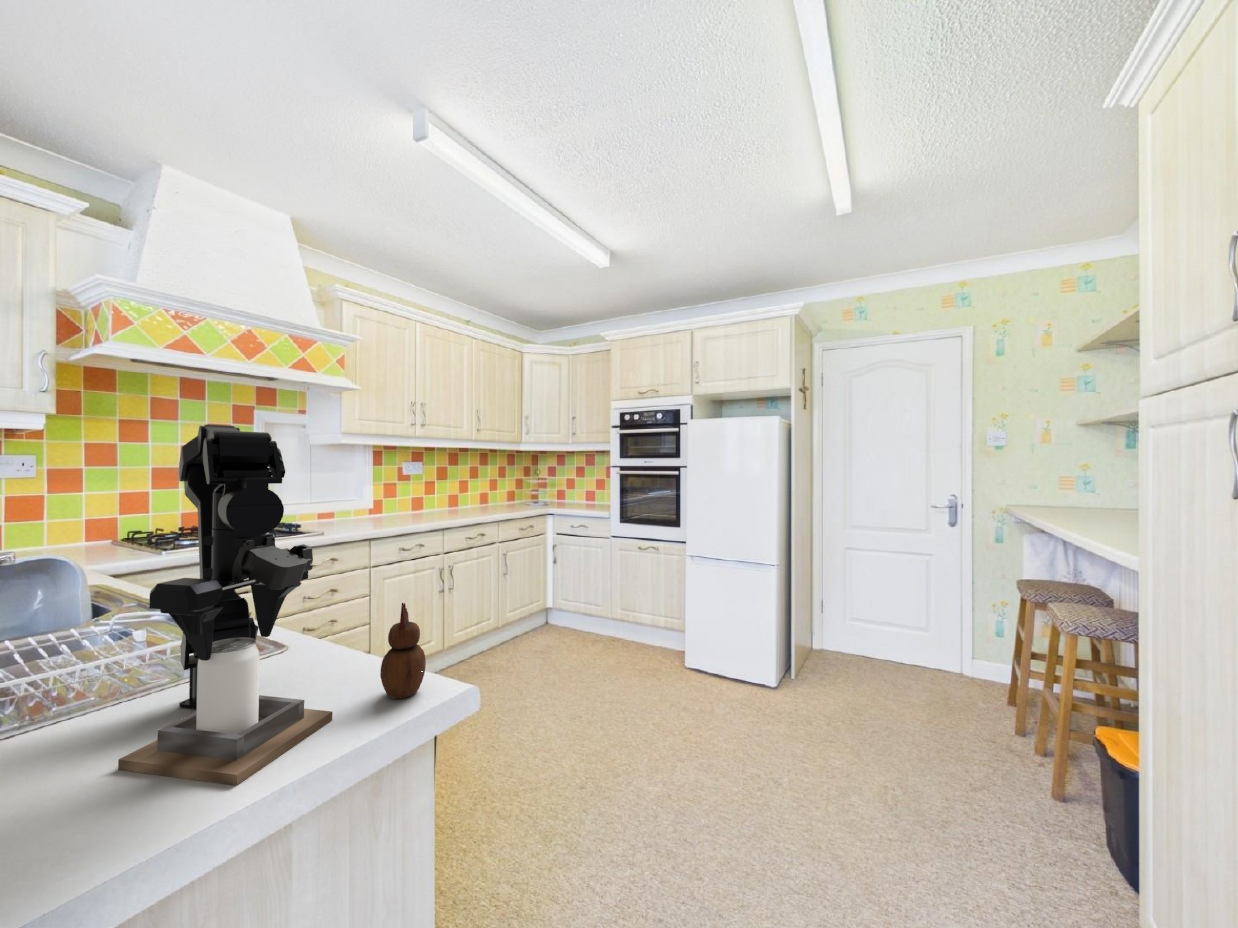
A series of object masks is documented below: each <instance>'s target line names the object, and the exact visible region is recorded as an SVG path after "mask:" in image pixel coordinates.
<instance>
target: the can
mask: <svg viewBox="0 0 1238 928" xmlns="http://www.w3.org/2000/svg"><path fill="white" fill-rule="evenodd" d="M256 643H257V639H256V640H255V639H253V638H244V637H241V638H229V639H223V640H219V641H215V642H213V643H212V652H211V657H210V659H209V660H207V661H204V660H200V659H199V660H198V668H197V708H196V711H197V713H196V730H202V731H210V732H219V733H228V734H236V735H237V734H239V733H240V732H242V731H244V730H246V729H247V728H249V727H251V726H252V725H254V724H256V723H258V711H259V695H260V650H259V649H258V647H257V644H256Z"/></svg>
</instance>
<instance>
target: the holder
mask: <svg viewBox="0 0 1238 928" xmlns="http://www.w3.org/2000/svg"><path fill="white" fill-rule="evenodd" d="M196 713H197V710H195V711H194V712H191V713H190V714H188V715H187V716H185V717H181V718H180V719H178V720H176V721H173V722H172V723H169V724H168V725H166V726H164V727H161V728H159V729H157V739H156V740H154V741H152V742H150V743H148V744H146V745H144V746H142V747H140V748H138V749H136V750H135V751H134V750H133V751H132V752H130V753H128V754H126V755H124V756H123V757H120V758H118V761H117V765H118V766H117V770H118V771H124V772H125V771H127V772H135V773H141V774H142V773H143V774H149V775H157V776H163V777H164V776H165V777H172V778H178V779H187V780H195V781H202V782H209V783H216V784H217V783H218V784H224V785H232V786H239V785H240V784H241V783H242V782H244V781H245V780H247V779H248V778H250V777H251V776H253V775H255V774H256V773H257V772H258V771H260V770H262V769H263V768H264V767H266V766H268V765H269V764H270V763H272V762H273V761H274V760H277V758H279V757H280V756H282V755H284V754H285V753H286V752H288V751H289V750H291V749H292V748H293V747H295V746H296V745H298V744H300V743H301V742H302V741H304V740H305V739H307V738H309V737H310V736H311V735H312V734H314V733H315V732H317V731H318V730H319V729H322V728H323V727H324V726H326V725H327V724H329V723H330V722H331V721H333V711H331V710H321V709H313V708H311V709H310V708H305V699H299V698H289V697H279V696H269V695H260V694H259V711H258V723H256V724H254V725H252V726H251V727H249V728H247V729H246V730H244V731H242V732H240V733H239V734H237V735H236V734H228V733H219V732H210V731H202V730H196Z"/></svg>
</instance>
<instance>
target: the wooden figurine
mask: <svg viewBox="0 0 1238 928" xmlns="http://www.w3.org/2000/svg"><path fill="white" fill-rule="evenodd" d="M400 609H401V610H400V618H399V620H400V621H399V622H397V623H395V624H393V625H392V626H391V627H390V629H389V632H388V636H387V639H388V640H387V641H388V644H389V646H390V649H389V650H388V651H387V652H386V654H385V655H384V656H383V659H382V661H381V663H380V664H381V665H380V674H379V676H380V680H381V683H382V687H383V690H384V691H385V693H386V695H387V696H388V697H390V698H392V699H397V700H398V699H405V698H408V697H411V696H412V695H414V694H416V693H417V692H418V691H419V690H420V687H421V684H422V683H423V680H424V677H425V673H426V672H425V671H426V663H427V662H426V655H425V651H424V649H423V648H422V646H421V645H420V644H418V643H419V642H420V637H421V630H420V627H419V625H418V624H417V623H416V622H413V621H410V620H409V618H410V617H409V611H408V608H407V606H406V603H405V602H401V608H400ZM421 671H423V672H421Z"/></svg>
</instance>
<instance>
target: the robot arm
mask: <svg viewBox="0 0 1238 928" xmlns="http://www.w3.org/2000/svg"><path fill="white" fill-rule="evenodd" d="M198 427H199V428H198V431H197V436H195V437H194V438H192V439H191V440H190V441H188V442H186V443H185V444H184V445H183V446H181V450H180V451H181V452H180V457H179V461H178V462H179V463H178V480H179V482H183V484H184V487H183V488H184V496H185V497H186V498H187V499H188V500H189V501H190V502H191V504H193V505H194V507H195V508H196V509H197V529H198V530H197V531H198V556H199V578H197V577H196V578H194V577H182V578H178V579H173V580H168V581H163V582H159V583H156V585H154V587H152V589H151V590H149V591H150V592H149V607H148V608H149V609H151V610H159V611H160V612H159V613H161V614H167V615H169V616H170V617H171V619H172V620H173V621H174V623H175V624H176V625H177V626H178V628H179V629H180V630H181V632H182V635H181V636H182V637H181V643H180V664H181V666H182V669H183V670H184V671H188V670H189V689H188V690H189V693H188V695H189V696H188V697H189V698H186V699H185V700H182V701H180V702H179V705H178V706H179V707H181V708H189V709H190V708H191V709H197V668H198V660H199V659H200V660H204V661H207V660H209V659H210V657H211V652H212V643H213V642H215V641H219V640H223V639H229V638H241V637H244V638H253V639H255V640H256V641H257V636H258V634H259V635H260V637H263V638H268V637H270V636H271V635H272V631H273V628H274V626H275V624H276V621H277V620H278V619H277V618H278V616H279V614H280V610H281V609H282V605H283V603H284V601H285V599H286V597H287V596H288V595H289V594H290V593H291V592H292V591H294V590H295V589H296V588H298V587H300V586H301V585H302V582H301V581H304V580H308V579H309V571H312V570H313V568H314V567H313V562H314V557H313V547H311V546H309V545H307V544H304V543H303V544H298V545H294V546H292V547H291V548H290V549H289V548H287V547H286V548H279V547H278V546H276V537H275V536H274V533H271V531H274V530H275V528H277V527H278V526H279V524H280V523H281V522H282V519H283V518H284V512H285V510H284V509H285V507H284V504H283V501H282V499H281V497H279V495H278V494H277V493H275V492H274V491H272V490H271V489H269V485H271V484H272V485H273V484H276V485H277V484H283V478H285V474H286V467H285V464H284V459H283V456H282V452H281V449H280V448H279V447H278V443H277V441H275V440H272V439H273V438H272V436H271V434H270V433H269V432H263V431H261V432H260V431H241V429H240V427H235V425H223V424H222V425H221V424H204V425H199V426H198ZM269 532H270V533H269ZM249 586H250V589H251V596H252V599H253V606H254V613H255V617H256V622H257V624H256V623H255V619H254V617H250V609H249V603H248V601H247V600H246V597H242V596H241V595H239V593H238V592H237V591H236V590H238V589H239V590H240V589H242V588H246V587H249ZM258 632H259V633H258Z"/></svg>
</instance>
